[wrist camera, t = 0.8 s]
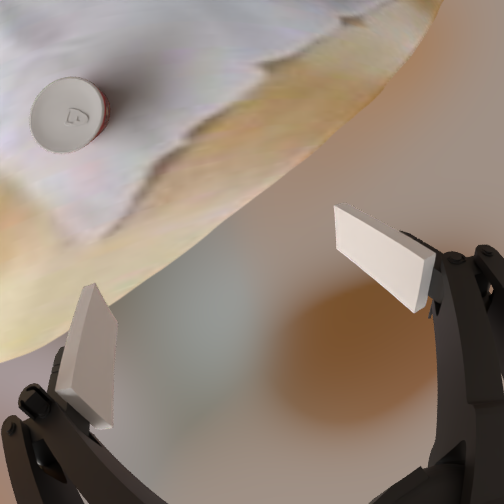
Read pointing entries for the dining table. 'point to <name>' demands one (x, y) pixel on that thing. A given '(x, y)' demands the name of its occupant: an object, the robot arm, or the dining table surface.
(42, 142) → the canned food
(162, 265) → the dining table surface
